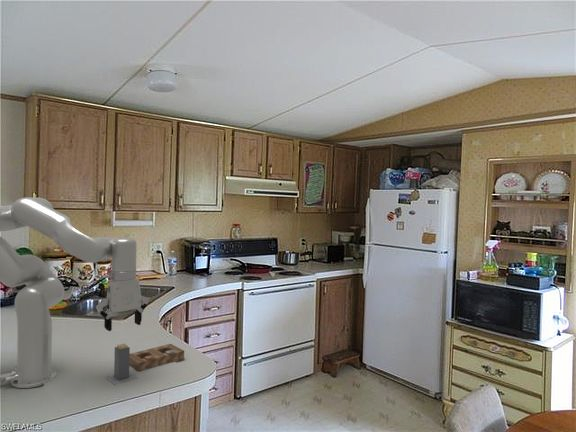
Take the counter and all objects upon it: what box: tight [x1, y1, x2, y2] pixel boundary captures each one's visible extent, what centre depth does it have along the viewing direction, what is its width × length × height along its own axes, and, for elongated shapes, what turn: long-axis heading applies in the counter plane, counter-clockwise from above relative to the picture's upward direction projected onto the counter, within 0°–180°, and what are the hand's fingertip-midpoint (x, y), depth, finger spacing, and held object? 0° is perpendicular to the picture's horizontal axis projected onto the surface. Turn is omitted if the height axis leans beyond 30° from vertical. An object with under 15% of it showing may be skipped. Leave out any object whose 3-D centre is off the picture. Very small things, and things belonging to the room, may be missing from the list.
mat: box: [104, 370, 139, 386], centre depth 133 cm, size 8×8×1 cm
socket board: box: [129, 343, 185, 372], centre depth 148 cm, size 18×10×4 cm, turn 135°
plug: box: [113, 343, 131, 381], centre depth 133 cm, size 4×4×11 cm
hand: (123, 327), depth 133 cm, fingers open, 9 cm apart
